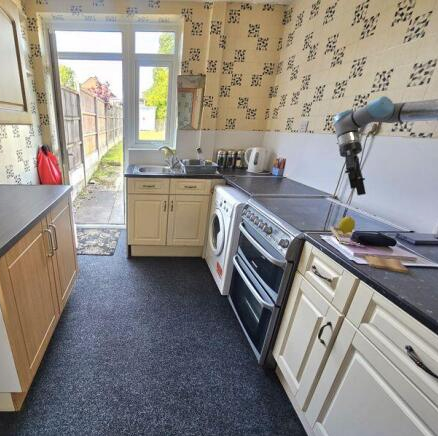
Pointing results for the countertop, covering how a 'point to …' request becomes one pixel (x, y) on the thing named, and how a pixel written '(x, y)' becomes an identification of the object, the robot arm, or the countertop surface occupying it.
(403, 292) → the countertop surface
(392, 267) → the board
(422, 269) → the countertop surface
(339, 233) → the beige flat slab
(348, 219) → the lemon
